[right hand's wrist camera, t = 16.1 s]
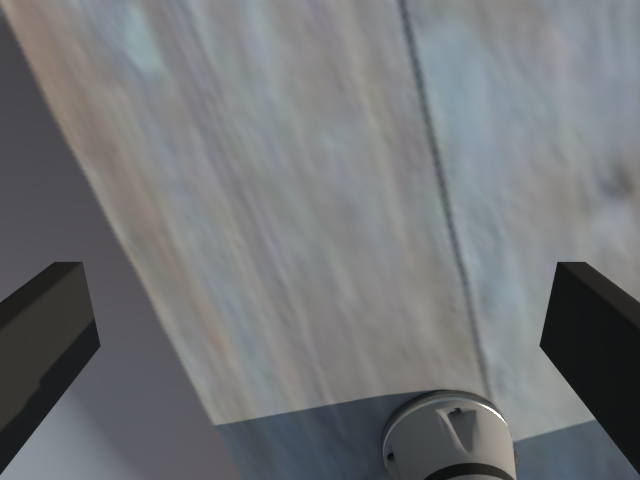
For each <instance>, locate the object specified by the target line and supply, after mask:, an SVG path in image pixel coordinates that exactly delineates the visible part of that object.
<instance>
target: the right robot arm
mask: <svg viewBox="0 0 640 480" xmlns="http://www.w3.org/2000/svg"><path fill="white" fill-rule="evenodd" d="M99 347H100V342H99V337H98V332H97V328H96V323H95V318H94V314H93V309H92V304H91V300H90V295H89V290H88V286H87V281H86V276H85V272H84V267H83V263H82V262H54V263H53V264H51V265H50V266H49V267H47V268H46V269H45V270H43V271H42V272H41V273H39V274H38V275H37V276H35V277H34V278H33V279H31V280H30V281H29V282H27V283H26V284H25V285H23V286H22V287H21V288H19V289H18V290H17V291H15V292H14V293H13V294H11V295H10V296H9V297H7V298H6V299H4V300H3V301H2V302H0V475H1V473H2V472H3V471H4V470H5V468H6V467H7V466H8V464H9V463H10V462H11V460H12V459H13V458H14V457H15V455H16V454H17V453H18V451H19V450H20V449H21V448H22V446H23V445H24V444H25V442H26V441H27V440H28V439H29V437H30V436H31V435H32V434H33V432H34V431H35V430H36V428H37V427H38V426H39V425H40V423H41V422H42V421H43V419H44V418H45V417H46V416H47V414H48V413H49V412H50V410H51V409H52V408H53V406H54V405H55V404H56V403H57V401H58V400H59V399H60V397H61V396H62V395H63V394H64V392H65V391H66V390H67V388H68V387H69V386H70V385H71V383H72V382H73V381H74V379H75V378H76V377H77V376H78V374H79V373H80V372H81V370H82V369H83V368H84V366H85V365H86V364H87V363H88V361H89V360H90V359H91V358H92V356H93V355H94V354H95V352H96V351H97V350H98V349H99ZM540 347H541V349H542V350H543V351H544V352H545V354H546V355H547V356H548V358H549V359H550V360H551V361H552V363H553V364H554V365H555V367H556V368H557V369H558V370H559V372H560V373H561V374H562V376H563V377H564V378H565V379H566V381H567V382H568V383H569V385H570V386H571V387H572V388H573V390H574V391H575V392H576V394H577V395H578V396H579V397H580V399H581V400H582V401H583V403H584V404H585V405H586V406H587V408H588V409H589V410H590V412H591V413H592V414H593V416H594V417H595V418H596V419H597V421H598V422H599V423H600V425H601V426H602V427H603V428H604V430H605V431H606V432H607V434H608V435H609V436H610V437H611V439H612V440H613V441H614V443H615V444H616V445H617V446H618V448H619V449H620V450H621V452H622V453H623V454H624V455H625V457H626V458H627V459H628V461H629V462H630V463H631V464H632V466H633V467H634V468H635V470H636V471H637V472H638V473H639V475H640V302H638V301H637V300H636V299H634V298H633V297H631V296H630V295H629V294H627V293H626V292H625V291H623V290H622V289H621V288H619V287H618V286H617V285H615V284H614V283H613V282H611V281H610V280H609V279H607V278H606V277H605V276H603V275H602V274H601V273H599V272H598V271H597V270H595V269H594V268H593V267H591V266H590V265H589V264H587V263H586V262H557V267H556V271H555V276H554V281H553V285H552V290H551V295H550V299H549V304H548V309H547V313H546V318H545V323H544V327H543V332H542V337H541V341H540ZM381 445H382V453H383V459H384V463H385V466H386V469H387V471H388V473H389V475H390V477H391V478H392V480H516V472H515V471H516V469H517V466H518V464H519V461H520V460H519V458H518V456H517V454H516V452H515V450H514V451H513V442H512V436H511V432H510V430H509V428H508V426H507V424H506V422H505V420H504V418H503V416H502V414H501V413H500V411H499V410H498V409H497V408H496V407H495V406H494V405H493V404H492V403H491V402H489V401H488V400H486V399H484V398H482V397H481V396H478V395H476V394H472V393H469V392H464V391H456V390H446V391H437V392H432V393H428V394H424V395H422V396H419V397H417V398H415V399H413V400H411V401H409V402H407V403H406V404H404V405H403V406H402V407H400V408H399V409H398V410H397V411H396V412H395V413H394V414H393V415H392V416H391V418H390V419H389V421H388V422H387V424H386V426H385V428H384V431H383V434H382V441H381Z"/></svg>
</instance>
